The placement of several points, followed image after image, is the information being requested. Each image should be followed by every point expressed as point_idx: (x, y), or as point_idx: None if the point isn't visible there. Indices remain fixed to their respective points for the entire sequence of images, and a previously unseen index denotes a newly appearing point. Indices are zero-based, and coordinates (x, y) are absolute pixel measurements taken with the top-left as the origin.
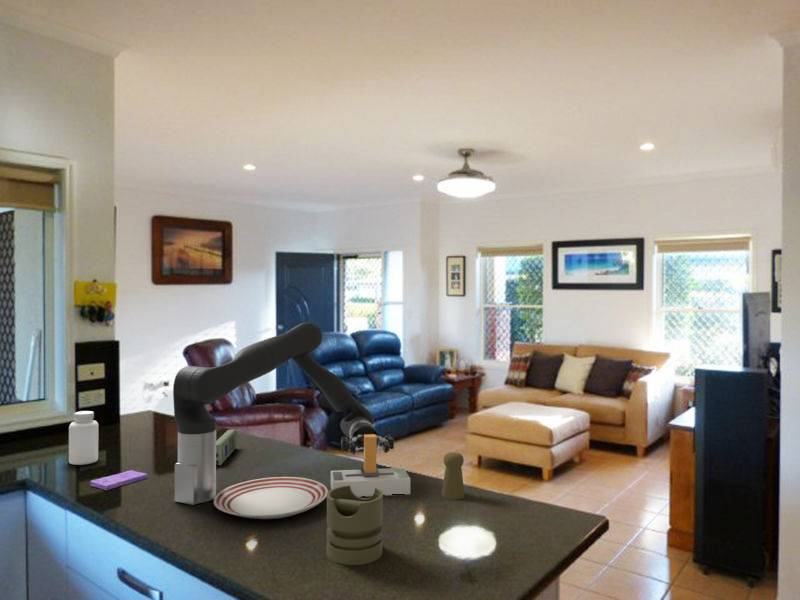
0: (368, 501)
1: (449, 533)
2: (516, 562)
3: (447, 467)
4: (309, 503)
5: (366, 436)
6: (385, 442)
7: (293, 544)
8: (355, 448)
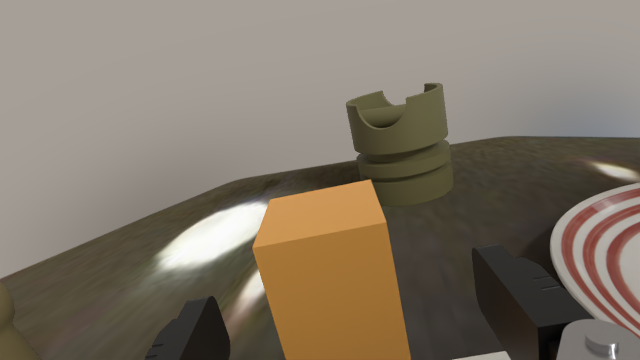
0: (370, 94)
1: (233, 242)
2: (198, 207)
3: (9, 330)
4: (625, 280)
5: (358, 193)
6: (163, 355)
7: (527, 182)
8: (473, 261)
